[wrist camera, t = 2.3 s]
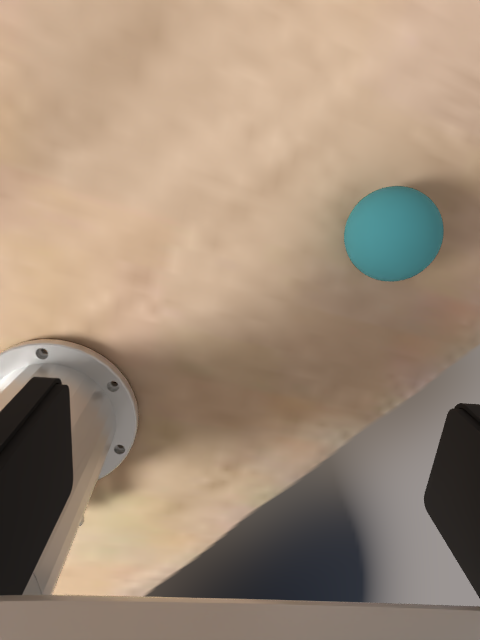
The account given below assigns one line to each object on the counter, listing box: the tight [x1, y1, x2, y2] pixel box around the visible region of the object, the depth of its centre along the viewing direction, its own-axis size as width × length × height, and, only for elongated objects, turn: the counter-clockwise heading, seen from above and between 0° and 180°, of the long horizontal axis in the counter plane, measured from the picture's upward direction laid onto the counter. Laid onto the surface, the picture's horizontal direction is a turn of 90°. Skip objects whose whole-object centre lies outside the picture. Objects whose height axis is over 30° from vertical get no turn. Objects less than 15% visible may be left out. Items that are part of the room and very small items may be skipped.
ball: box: [344, 186, 443, 281], centre depth 27 cm, size 6×6×6 cm
